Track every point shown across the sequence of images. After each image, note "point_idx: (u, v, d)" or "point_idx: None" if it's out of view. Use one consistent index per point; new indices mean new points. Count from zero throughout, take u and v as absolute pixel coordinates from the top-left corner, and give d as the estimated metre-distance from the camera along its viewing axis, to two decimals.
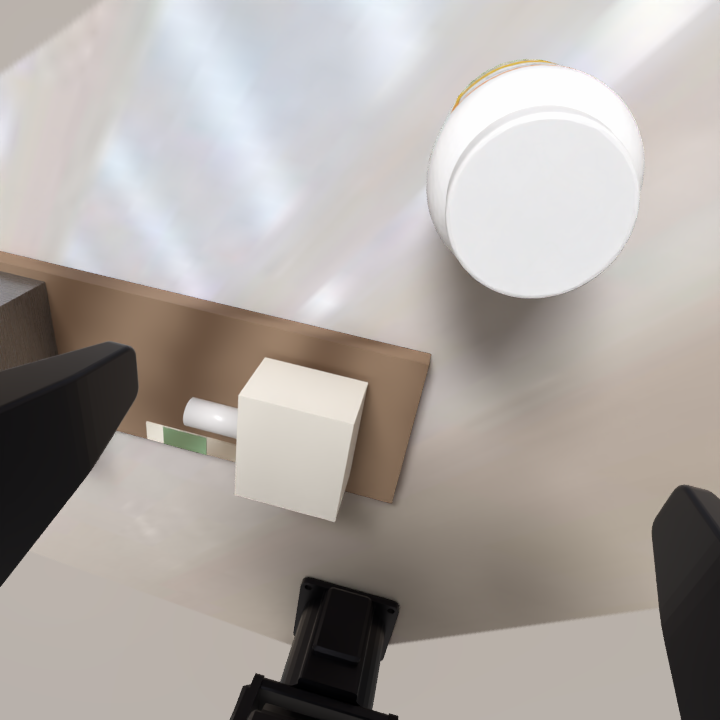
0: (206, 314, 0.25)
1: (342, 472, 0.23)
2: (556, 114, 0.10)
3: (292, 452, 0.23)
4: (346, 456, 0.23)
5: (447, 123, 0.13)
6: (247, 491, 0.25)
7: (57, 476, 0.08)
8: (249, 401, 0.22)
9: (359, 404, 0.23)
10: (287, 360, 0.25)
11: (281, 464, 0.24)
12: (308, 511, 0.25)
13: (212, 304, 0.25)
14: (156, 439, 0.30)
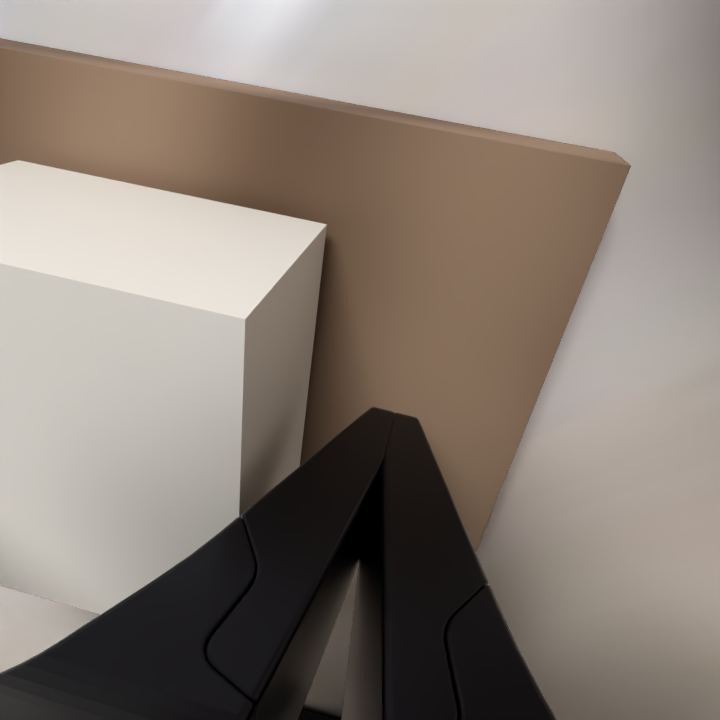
0: None
1: (232, 512, 0.07)
2: None
3: (55, 441, 0.07)
4: (236, 455, 0.06)
5: None
6: None
7: (355, 558, 0.07)
8: None
9: (285, 266, 0.06)
10: (171, 190, 0.08)
11: (36, 486, 0.07)
12: None
13: None
14: None
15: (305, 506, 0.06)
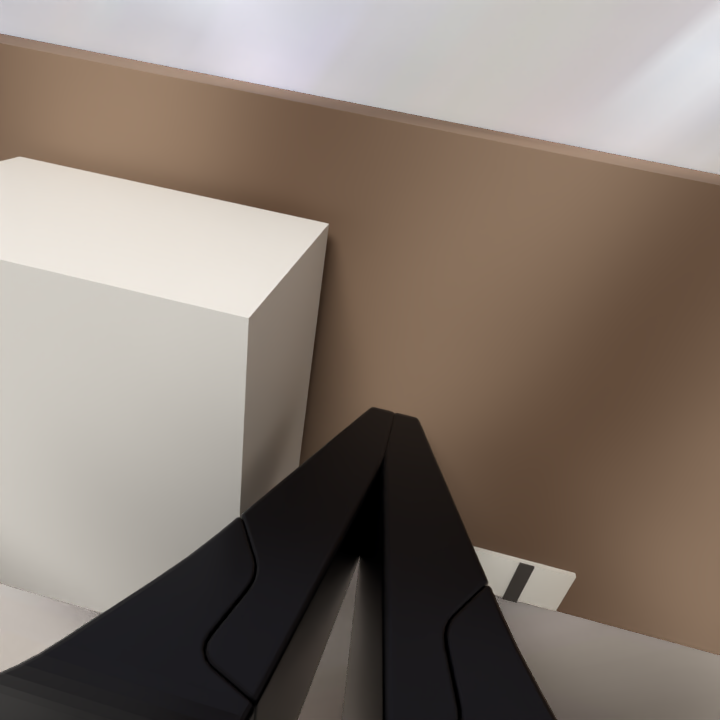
0: (303, 116, 0.07)
1: (233, 511, 0.07)
2: None
3: (56, 439, 0.07)
4: (238, 454, 0.06)
5: None
6: None
7: (355, 558, 0.07)
8: None
9: (288, 265, 0.06)
10: (558, 272, 0.08)
11: (36, 483, 0.07)
12: None
13: (315, 97, 0.08)
14: None
15: (305, 506, 0.06)
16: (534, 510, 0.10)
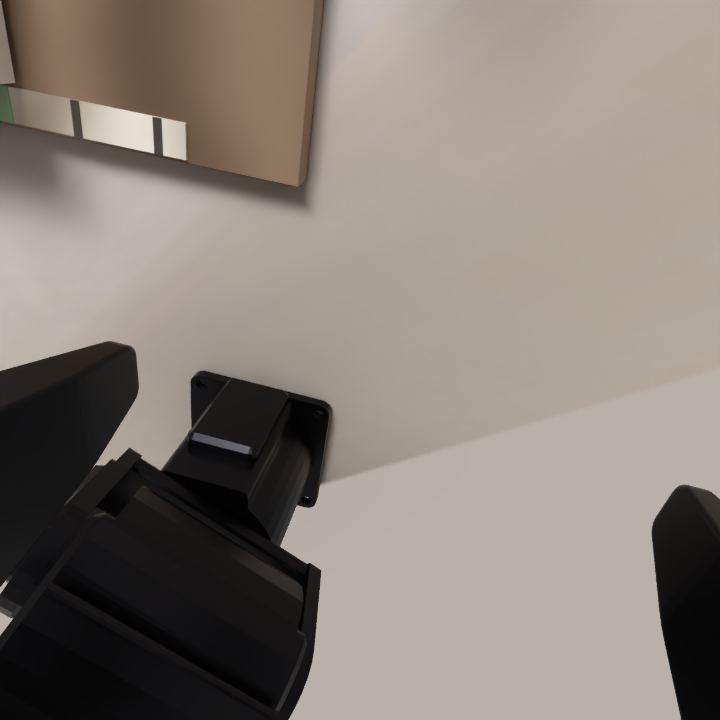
0: None
1: None
2: None
3: None
4: None
5: None
6: None
7: (57, 476, 0.08)
8: None
9: None
10: None
11: None
12: None
13: None
14: None
15: None
16: (147, 68, 0.17)
